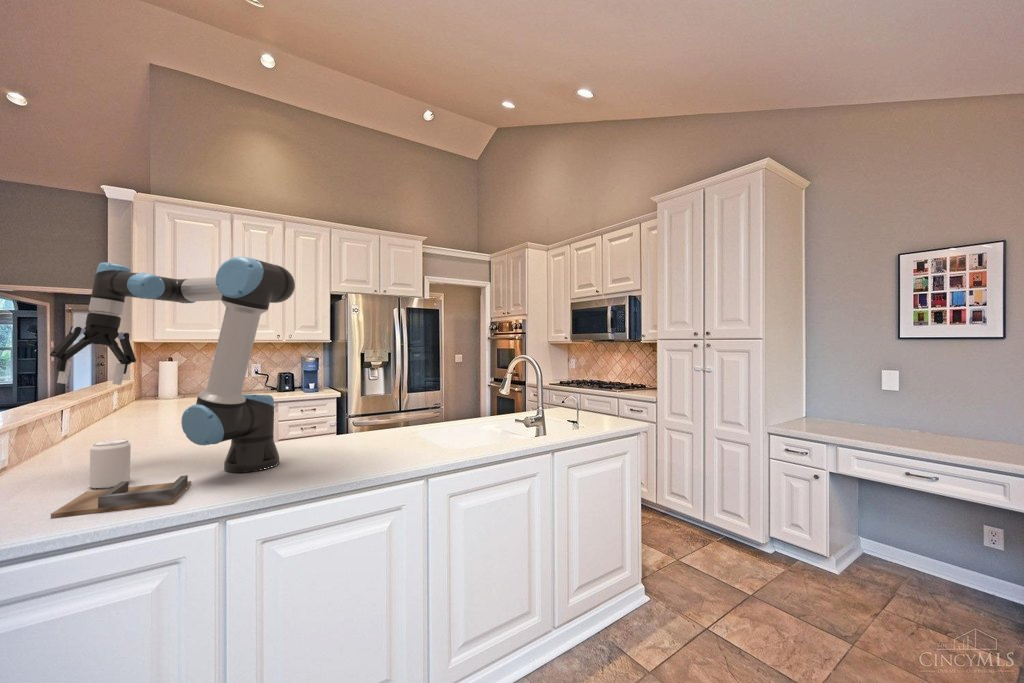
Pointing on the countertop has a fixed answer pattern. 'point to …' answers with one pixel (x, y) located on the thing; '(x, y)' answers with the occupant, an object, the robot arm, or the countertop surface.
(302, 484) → the countertop surface
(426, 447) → the countertop surface
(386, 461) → the countertop surface
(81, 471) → the countertop surface
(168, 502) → the keeper
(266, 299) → the robot arm
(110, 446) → the beverage can
